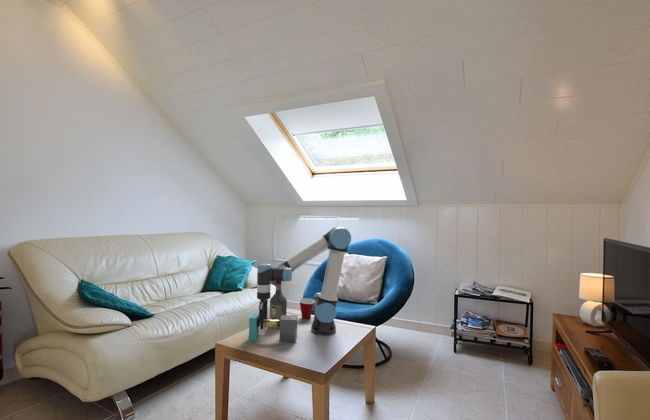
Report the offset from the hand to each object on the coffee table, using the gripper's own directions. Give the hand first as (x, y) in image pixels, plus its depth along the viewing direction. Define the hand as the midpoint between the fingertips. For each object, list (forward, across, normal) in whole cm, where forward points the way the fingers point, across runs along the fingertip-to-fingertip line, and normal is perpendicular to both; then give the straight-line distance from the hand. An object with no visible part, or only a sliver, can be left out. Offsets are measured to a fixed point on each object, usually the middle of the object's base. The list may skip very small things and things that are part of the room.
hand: (262, 332), depth 194 cm
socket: (+4, 0, -5) cm, 6 cm away
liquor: (+4, -23, +5) cm, 24 cm away
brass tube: (-3, 0, +3) cm, 4 cm away
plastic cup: (+4, -40, +22) cm, 46 cm away
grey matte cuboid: (+4, 0, +14) cm, 15 cm away
